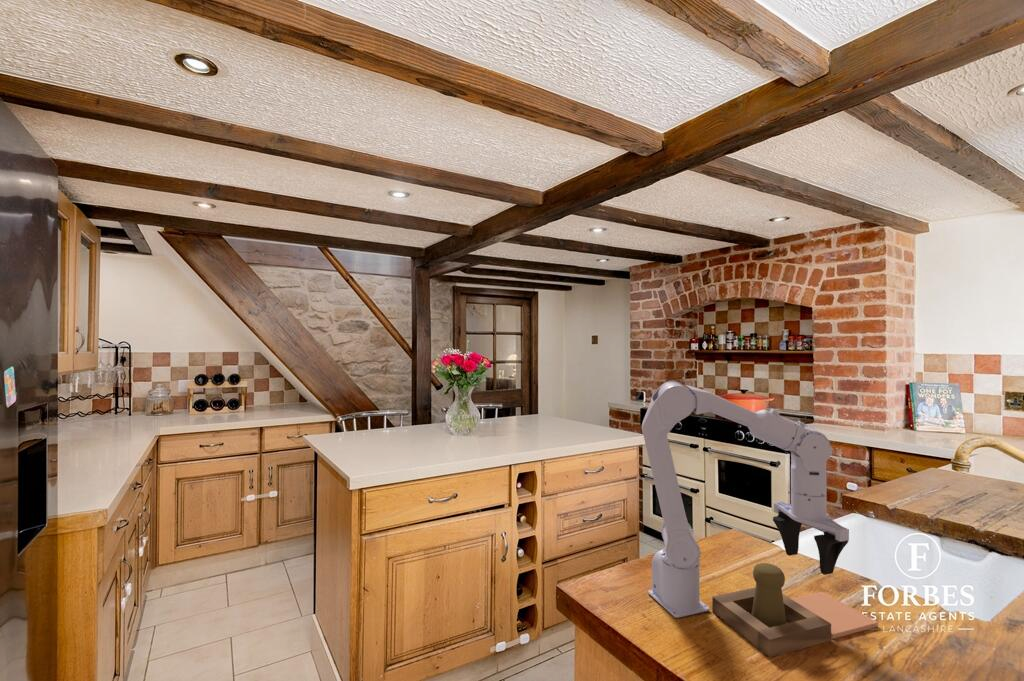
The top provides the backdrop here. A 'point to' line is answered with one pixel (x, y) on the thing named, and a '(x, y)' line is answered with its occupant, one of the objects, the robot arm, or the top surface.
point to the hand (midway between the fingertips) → (808, 563)
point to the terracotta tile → (836, 614)
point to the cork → (769, 595)
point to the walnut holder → (774, 640)
